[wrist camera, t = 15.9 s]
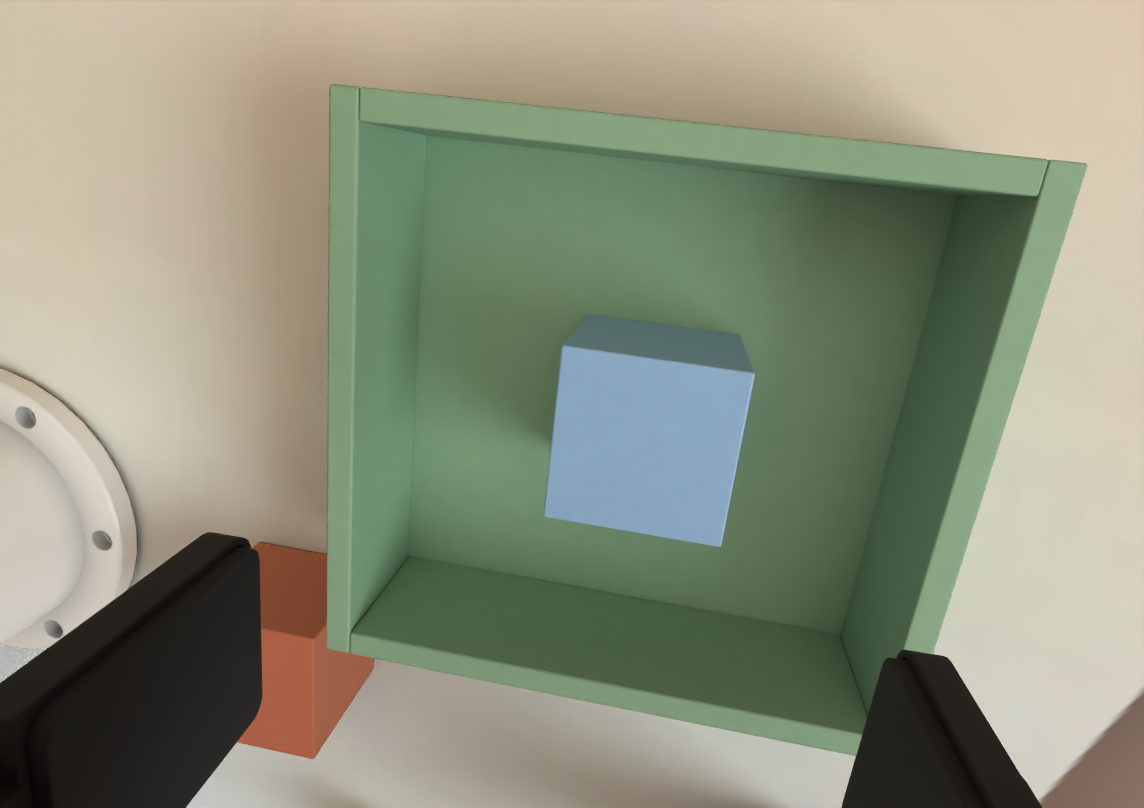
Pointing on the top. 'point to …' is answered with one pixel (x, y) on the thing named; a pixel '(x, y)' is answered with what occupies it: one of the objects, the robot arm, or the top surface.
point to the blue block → (648, 428)
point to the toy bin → (686, 299)
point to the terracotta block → (299, 656)
